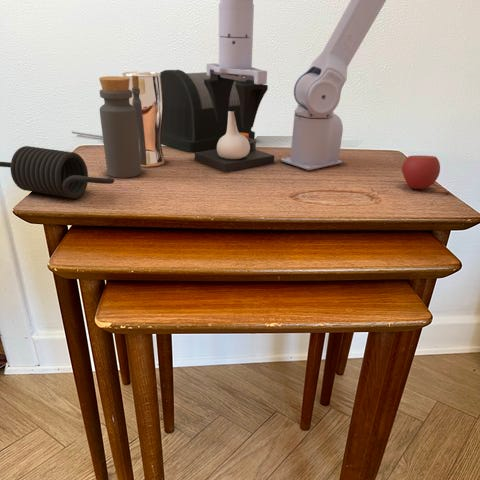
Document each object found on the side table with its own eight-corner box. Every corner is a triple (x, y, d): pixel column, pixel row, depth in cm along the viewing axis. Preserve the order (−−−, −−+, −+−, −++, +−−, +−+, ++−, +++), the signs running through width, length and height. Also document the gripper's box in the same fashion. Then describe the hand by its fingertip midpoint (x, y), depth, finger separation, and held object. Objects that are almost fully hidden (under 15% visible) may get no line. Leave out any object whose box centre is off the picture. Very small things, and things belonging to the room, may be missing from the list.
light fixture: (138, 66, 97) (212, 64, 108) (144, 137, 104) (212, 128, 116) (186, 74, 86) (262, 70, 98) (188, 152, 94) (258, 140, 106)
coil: (127, 189, 71) (95, 236, 70) (32, 134, 75) (1, 178, 75) (106, 165, 64) (71, 217, 63) (3, 106, 68) (-31, 155, 68)
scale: (242, 150, 97) (243, 135, 96) (276, 162, 91) (278, 146, 89) (192, 159, 91) (192, 143, 89) (225, 172, 84) (225, 155, 82)
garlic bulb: (256, 158, 87) (258, 112, 83) (230, 162, 84) (231, 115, 79) (235, 151, 91) (236, 107, 87) (210, 155, 88) (209, 109, 84)
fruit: (395, 193, 78) (446, 196, 74) (400, 157, 75) (453, 159, 72) (401, 188, 82) (449, 191, 79) (406, 154, 80) (455, 156, 77)
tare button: (241, 139, 94) (242, 131, 93) (251, 142, 92) (251, 134, 92) (230, 141, 93) (230, 133, 92) (239, 144, 91) (240, 136, 90)
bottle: (108, 178, 78) (95, 79, 70) (106, 169, 83) (95, 75, 74) (142, 177, 79) (134, 80, 71) (139, 168, 84) (131, 75, 76)
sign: (79, 128, 107) (133, 136, 102) (80, 132, 107) (134, 140, 102) (63, 132, 103) (119, 141, 98) (64, 136, 103) (120, 145, 98)
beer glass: (141, 169, 83) (133, 76, 75) (123, 161, 88) (113, 72, 79) (173, 164, 87) (169, 74, 79) (154, 156, 91) (149, 70, 83)
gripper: (191, 35, 79) (193, 119, 87) (244, 39, 70) (242, 133, 78) (224, 35, 83) (223, 116, 91) (278, 39, 74) (273, 129, 81)
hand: (234, 124), depth 84 cm, fingers open, 7 cm apart
